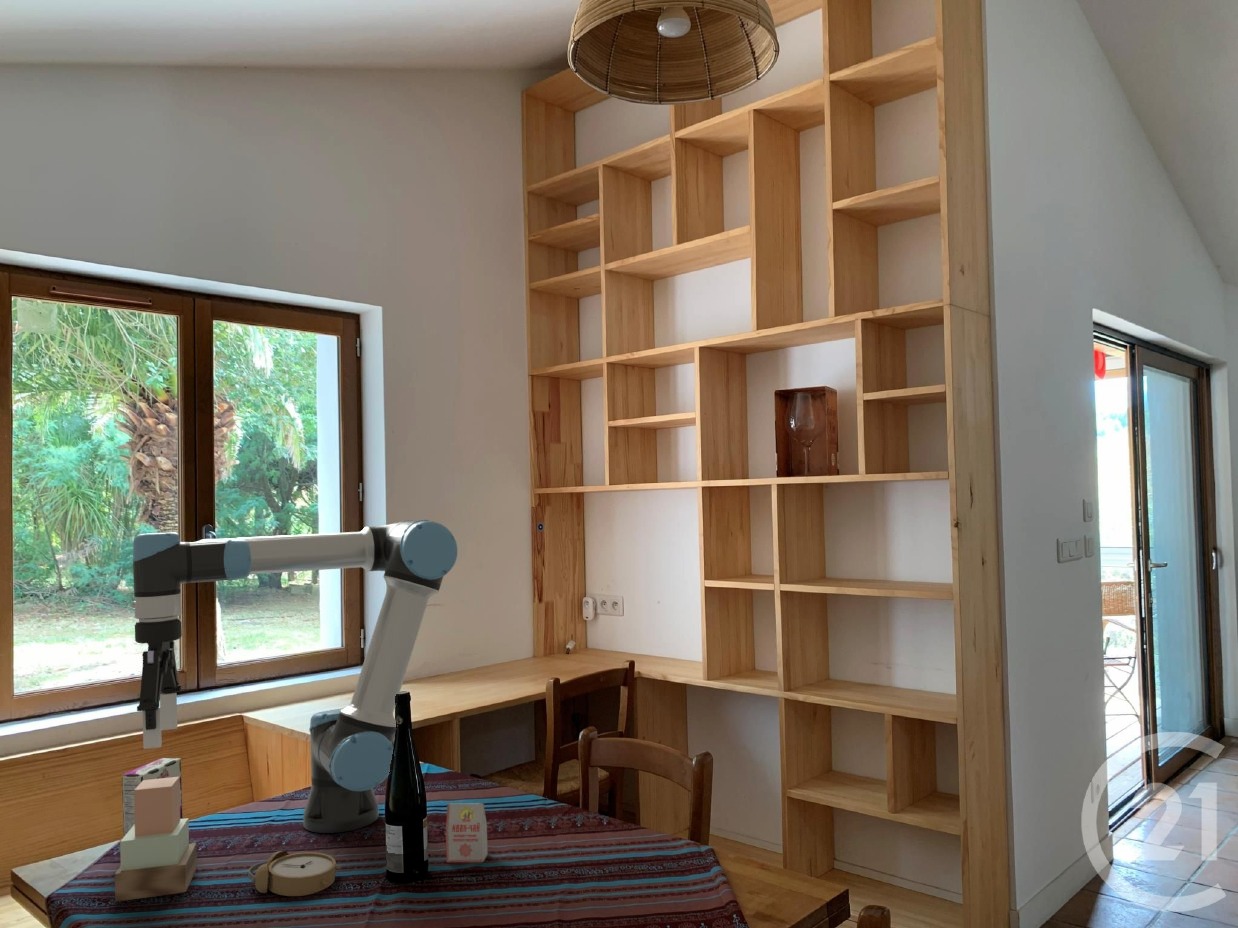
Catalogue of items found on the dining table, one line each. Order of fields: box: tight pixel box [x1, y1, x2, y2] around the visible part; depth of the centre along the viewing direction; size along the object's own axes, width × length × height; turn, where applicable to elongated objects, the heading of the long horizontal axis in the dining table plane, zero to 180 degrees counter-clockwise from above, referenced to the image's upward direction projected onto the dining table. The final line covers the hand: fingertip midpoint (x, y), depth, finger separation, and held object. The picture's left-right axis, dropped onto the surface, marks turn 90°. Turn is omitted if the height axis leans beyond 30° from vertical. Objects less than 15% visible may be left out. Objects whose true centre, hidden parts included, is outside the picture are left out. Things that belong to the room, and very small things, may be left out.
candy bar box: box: [121, 757, 184, 837], centre depth 179 cm, size 11×5×16 cm, turn 168°
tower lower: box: [114, 842, 198, 903], centre depth 163 cm, size 11×11×5 cm
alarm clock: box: [247, 850, 342, 897], centre depth 161 cm, size 11×5×15 cm
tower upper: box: [119, 817, 190, 871], centre depth 163 cm, size 9×9×5 cm
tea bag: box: [445, 802, 489, 863], centre depth 170 cm, size 4×7×10 cm, turn 85°
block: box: [134, 777, 180, 837], centre depth 163 cm, size 6×6×8 cm
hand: (161, 738), depth 164 cm, fingers open, 13 cm apart
